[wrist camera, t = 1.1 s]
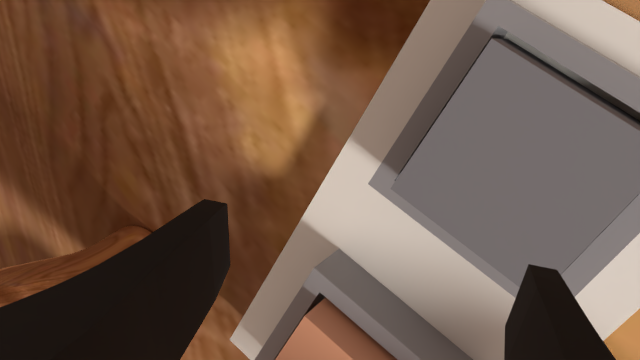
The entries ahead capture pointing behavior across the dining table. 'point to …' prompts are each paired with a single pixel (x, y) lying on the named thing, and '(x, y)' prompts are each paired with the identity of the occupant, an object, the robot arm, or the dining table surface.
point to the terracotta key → (331, 338)
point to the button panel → (421, 232)
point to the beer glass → (63, 265)
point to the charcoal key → (524, 163)
